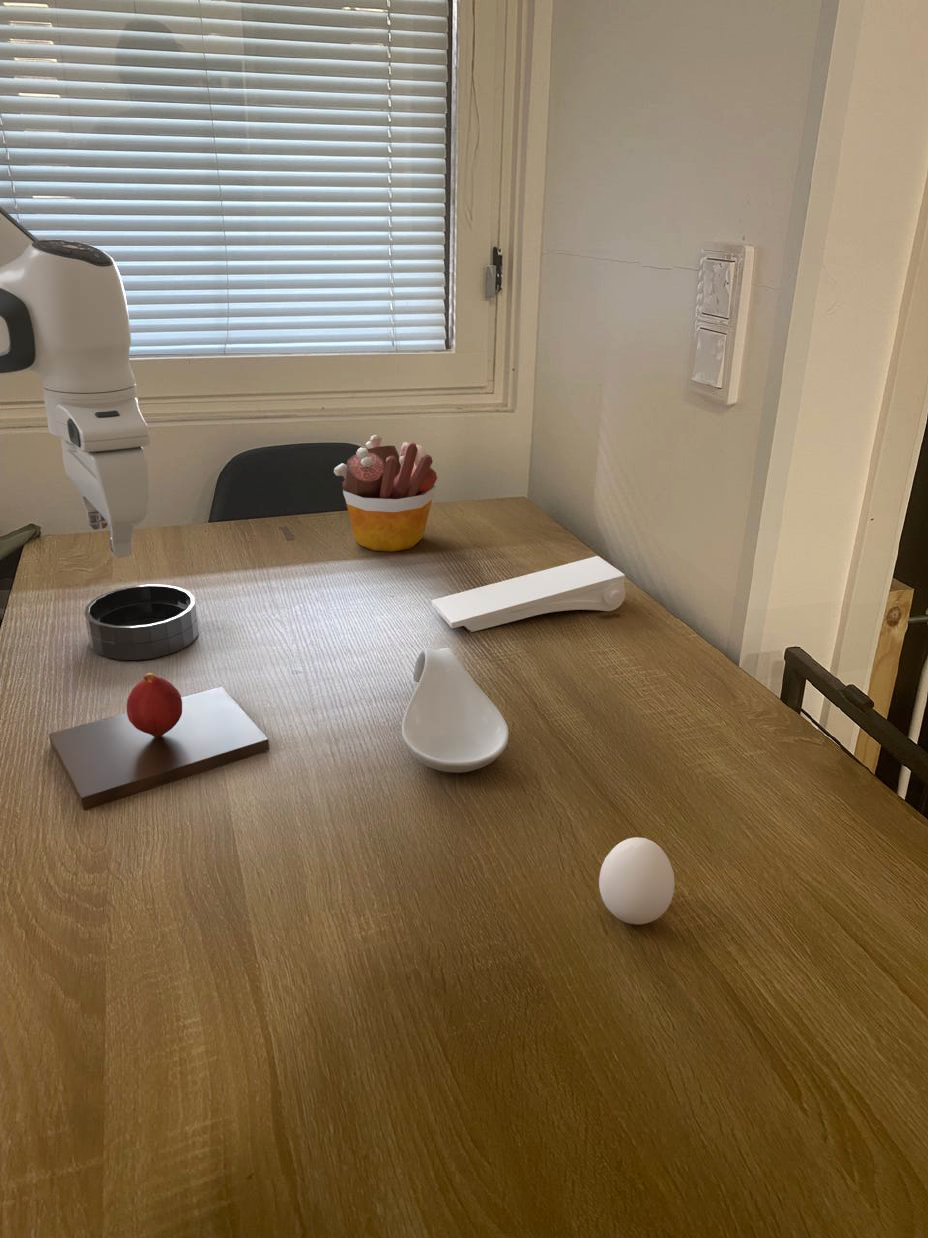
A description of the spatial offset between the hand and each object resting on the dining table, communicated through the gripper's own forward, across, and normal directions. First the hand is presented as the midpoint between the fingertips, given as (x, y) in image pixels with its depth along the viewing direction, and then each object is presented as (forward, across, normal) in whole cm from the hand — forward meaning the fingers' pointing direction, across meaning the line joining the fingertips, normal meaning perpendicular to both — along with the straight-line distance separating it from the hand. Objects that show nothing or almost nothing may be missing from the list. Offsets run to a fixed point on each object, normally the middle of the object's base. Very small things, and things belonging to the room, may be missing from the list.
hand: (109, 540), depth 99 cm
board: (+22, +9, 0) cm, 24 cm away
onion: (+20, +9, +1) cm, 22 cm away
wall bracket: (+21, +2, +58) cm, 62 cm away
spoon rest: (+21, +23, +30) cm, 43 cm away
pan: (+22, -19, +7) cm, 30 cm away
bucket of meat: (+22, -34, +55) cm, 68 cm away
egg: (+21, +57, +27) cm, 66 cm away
